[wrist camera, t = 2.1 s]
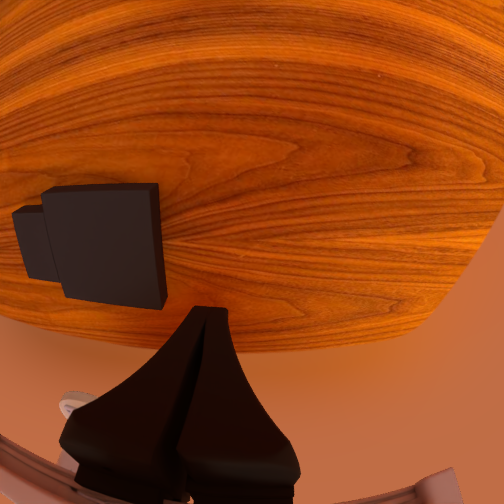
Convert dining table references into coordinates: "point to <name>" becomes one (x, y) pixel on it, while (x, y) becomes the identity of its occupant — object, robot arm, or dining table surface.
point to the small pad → (97, 243)
